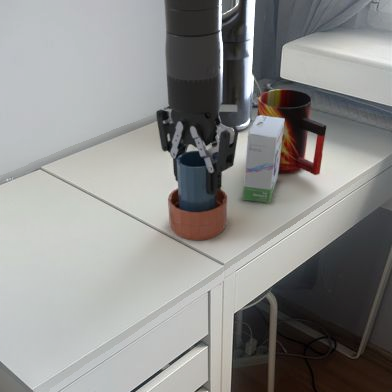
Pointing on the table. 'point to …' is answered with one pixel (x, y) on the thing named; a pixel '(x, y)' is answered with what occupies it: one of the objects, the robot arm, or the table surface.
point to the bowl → (197, 218)
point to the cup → (193, 183)
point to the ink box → (263, 158)
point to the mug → (294, 128)
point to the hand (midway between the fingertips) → (197, 185)
